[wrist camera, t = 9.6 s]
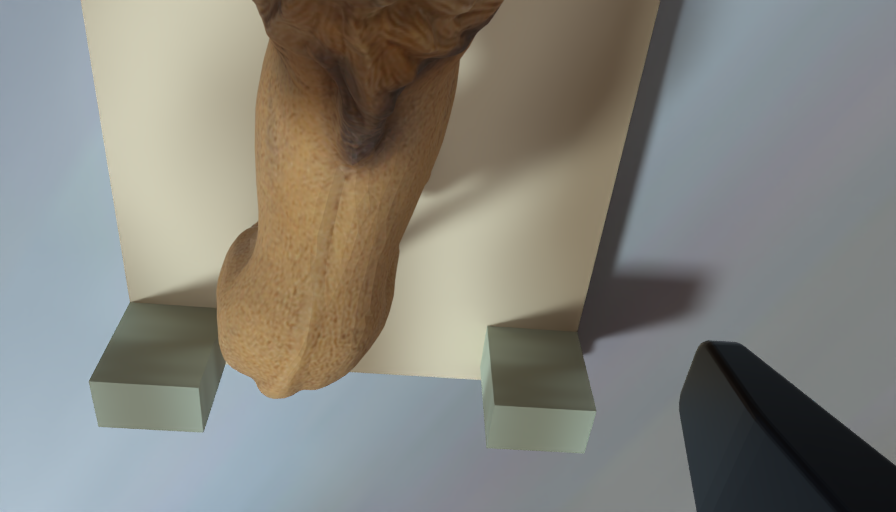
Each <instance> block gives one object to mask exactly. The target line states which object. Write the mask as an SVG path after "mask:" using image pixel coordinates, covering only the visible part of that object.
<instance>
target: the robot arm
mask: <svg viewBox="0 0 896 512" xmlns="http://www.w3.org/2000/svg"><path fill="white" fill-rule="evenodd" d="M679 412H680V419H681V424H682V430H683V436H684V441H685V447H686V453H687V459H688V464H689V470H690V476H691V482H692V487H693V493H694V499H695V504H696V510H697V512H896V466H895V465H894V464H893V463H892V462H890V461H889V460H888V459H887V458H885V457H884V456H883V455H882V454H880V453H879V452H878V451H876V450H875V449H874V448H873V447H871V446H870V445H869V444H868V443H866V442H865V441H864V440H863V439H861V438H860V437H859V436H857V435H856V434H855V433H854V432H852V431H851V430H850V429H849V428H847V427H846V426H845V425H844V424H842V423H841V422H840V421H838V420H837V419H836V418H835V417H833V416H832V415H831V414H830V413H828V412H827V411H826V410H825V409H823V408H822V407H821V406H819V405H818V404H817V403H816V402H814V401H813V400H812V399H811V398H809V397H808V396H807V395H805V394H804V393H803V392H802V391H800V390H799V389H798V388H797V387H795V386H794V385H793V384H792V383H790V382H789V381H788V380H786V379H785V378H784V377H783V376H781V375H780V374H779V373H778V372H776V371H775V370H774V369H773V368H771V367H770V366H769V365H767V364H766V363H765V362H764V361H762V360H761V359H760V358H759V357H757V356H756V355H755V354H754V353H752V352H751V351H750V350H748V349H747V348H746V347H745V346H743V345H742V344H740V343H737V342H726V341H710V340H709V341H705V342H703V343H701V344H700V346H699V347H698V349H697V351H696V353H695V356H694V358H693V361H692V364H691V367H690V369H689V372H688V375H687V377H686V380H685V383H684V385H683V388H682V391H681V395H680V401H679Z"/></svg>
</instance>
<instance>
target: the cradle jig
mask: <svg viewBox="0 0 896 512" xmlns="http://www.w3.org/2000/svg"><path fill="white" fill-rule="evenodd" d="M81 4H82V11H83V17H84V23H85V29H86V35H87V41H88V47H89V53H90V60H91V66H92V72H93V78H94V84H95V90H96V96H97V103H98V109H99V115H100V121H101V127H102V133H103V139H104V145H105V152H106V158H107V164H108V170H109V176H110V182H111V188H112V195H113V201H114V207H115V213H116V219H117V225H118V231H119V237H120V244H121V250H122V256H123V262H124V268H125V274H126V280H127V286H128V293H129V299H130V303H129V305H128V307H127V309H126V311H125V313H124V315H123V317H122V319H121V321H120V323H119V324H118V326H117V328H116V330H115V332H114V334H113V336H112V338H111V340H110V342H109V344H108V346H107V347H106V349H105V351H104V353H103V355H102V357H101V359H100V361H99V363H98V365H97V367H96V369H95V370H94V372H93V374H92V376H91V378H90V380H89V385H90V389H91V394H92V399H93V403H94V408H95V413H96V417H97V422H98V426H99V427H112V428H130V429H149V430H167V431H185V432H204V429H205V426H206V423H207V420H208V417H209V413H210V410H211V407H212V404H213V401H214V398H215V395H216V392H217V389H218V385H219V382H220V379H221V376H222V373H223V370H224V367H225V364H228V363H227V362H226V361H225V360H224V358H223V356H222V353H221V349H220V345H219V339H218V326H217V296H216V290H217V283H218V278H219V274H220V270H221V268H222V265H223V262H224V259H225V256H226V254H227V252H228V250H229V248H230V246H231V245H232V243H233V242H234V241H235V239H236V238H237V237H238V235H239V234H241V233H242V232H243V231H245V230H246V229H248V228H250V227H251V226H252V225H253V224H255V223H256V222H257V221H258V200H257V186H256V167H255V107H256V98H257V91H258V86H259V81H260V75H261V70H262V65H263V60H264V56H265V53H266V49H267V45H268V42H269V37H268V36H267V34H266V31H265V28H264V24H263V21H262V18H261V17H260V15H259V12H258V10H257V7H256V4H255V3H254V2H253V1H252V0H81ZM659 4H660V0H504V1H503V3H502V4H501V6H500V7H499V9H498V11H497V12H496V14H495V15H494V16H493V18H492V19H491V21H490V22H489V23H488V24H487V25H486V26H485V27H483V28H482V29H481V30H480V31H479V32H478V33H477V34H476V35H475V37H474V39H473V41H472V43H471V45H470V47H469V48H468V49H467V51H466V52H465V53H464V55H463V56H462V58H461V59H460V66H459V73H458V81H457V88H456V93H455V98H454V102H453V107H452V111H451V115H450V119H449V122H448V126H447V129H446V133H445V137H444V140H443V143H442V146H441V149H440V151H439V154H438V157H437V159H436V161H435V164H434V166H433V169H432V171H431V176H430V178H429V181H428V182H427V184H426V185H425V186H424V189H423V191H422V193H421V196H420V198H419V201H418V203H417V205H416V208H415V210H414V212H413V215H412V217H411V219H410V221H409V224H408V226H407V228H406V230H405V233H404V235H403V237H402V239H401V242H400V244H399V251H400V253H399V259H398V265H397V272H396V279H395V290H394V297H393V301H392V305H391V309H390V312H389V315H388V318H387V321H386V323H385V326H384V328H383V330H382V331H381V333H380V335H379V336H378V338H377V339H376V341H375V342H374V344H373V345H372V346H371V348H370V349H369V350H368V352H367V353H366V354H365V355H364V357H363V358H362V359H361V360H360V361H359V363H358V364H357V365H356V366H355V367H354V368H353V369H352V370H351V371H350V372H360V373H376V374H393V375H409V376H425V377H442V378H458V379H474V380H481V383H482V396H483V409H484V421H485V434H486V447H487V448H495V449H513V450H532V451H550V452H568V453H584V452H585V449H586V446H587V442H588V439H589V435H590V432H591V428H592V425H593V421H594V418H595V415H596V407H595V403H594V399H593V395H592V391H591V387H590V383H589V379H588V374H587V370H586V366H585V362H584V358H583V354H582V350H581V346H580V341H579V337H578V333H577V331H578V327H579V323H580V319H581V315H582V311H583V307H584V303H585V299H586V295H587V291H588V287H589V283H590V279H591V275H592V271H593V267H594V263H595V259H596V255H597V251H598V247H599V243H600V239H601V235H602V231H603V227H604V223H605V219H606V215H607V211H608V207H609V203H610V199H611V195H612V191H613V187H614V183H615V179H616V175H617V171H618V167H619V163H620V159H621V155H622V151H623V147H624V143H625V139H626V135H627V131H628V127H629V123H630V119H631V115H632V111H633V108H634V104H635V100H636V96H637V92H638V88H639V84H640V80H641V76H642V72H643V68H644V64H645V60H646V56H647V52H648V48H649V44H650V40H651V36H652V32H653V28H654V24H655V20H656V16H657V12H658V8H659Z"/></svg>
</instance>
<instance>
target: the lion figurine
mask: <svg viewBox="0 0 896 512" xmlns="http://www.w3.org/2000/svg"><path fill="white" fill-rule="evenodd" d="M252 1H253V2H254V3H255V4H256V7H257V10H258V12H259V15H260V17H261V18H262V21H263V24H264V28H265V31H266V34H267V36H268V37H269V42H268V45H267V49H266V53H265V56H264V60H263V65H262V70H261V75H260V81H259V86H258V91H257V98H256V107H255V167H256V186H257V200H258V221H257V222H256V223H255V224H253V225H252V226H251V227H250V228H248V229H246V230H245V231H243V232H242V233H241V234H239V235H238V237H237V238H236V239H235V241H234V242H233V243H232V245H231V246H230V248H229V250H228V252H227V254H226V256H225V259H224V262H223V265H222V268H221V270H220V274H219V278H218V283H217V290H216V296H217V326H218V339H219V345H220V349H221V353H222V356H223V358H224V360H225V361H226V362H227V363H228V364H229V365H230V366H231V367H232V368H233V369H235V370H237V371H238V372H240V373H242V374H244V375H247V376H249V377H251V378H252V379H253V380H255V382H256V384H257V387H258V388H259V390H260V391H261V393H263V394H264V395H265V396H267V397H269V398H273V399H278V398H286V397H289V396H292V395H293V394H295V393H297V392H298V391H301V390H316V389H320V388H323V387H325V386H327V385H329V384H331V383H333V382H335V381H337V380H338V379H340V378H342V377H343V376H345V375H346V374H347V373H349V372H350V371H351V370H352V369H353V368H354V367H355V366H356V365H357V364H358V363H359V361H360V360H361V359H362V358H363V357H364V355H365V354H366V353H367V352H368V350H369V349H370V348H371V346H372V345H373V344H374V342H375V341H376V339H377V338H378V336H379V335H380V333H381V331H382V330H383V328H384V326H385V323H386V321H387V318H388V315H389V312H390V309H391V305H392V301H393V297H394V290H395V279H396V272H397V265H398V259H399V253H400V251H399V244H400V242H401V239H402V237H403V235H404V233H405V230H406V228H407V226H408V224H409V221H410V219H411V217H412V215H413V212H414V210H415V208H416V205H417V203H418V201H419V198H420V196H421V193H422V191H423V189H424V186H425V185H426V184H427V182H428V181H429V178H430V176H431V171H432V169H433V166H434V164H435V161H436V159H437V157H438V154H439V151H440V149H441V146H442V143H443V140H444V137H445V133H446V129H447V126H448V122H449V119H450V115H451V111H452V107H453V102H454V98H455V93H456V88H457V81H458V73H459V66H460V59H461V58H462V56H463V55H464V53H465V52H466V51H467V49H468V48H469V47H470V45H471V43H472V41H473V39H474V37H475V35H476V34H477V33H478V32H479V31H480V30H481V29H482V28H483V27H485V26H486V25H487V24H488V23H489V22H490V21H491V19H492V18H493V16H494V15H495V14H496V12H497V11H498V9H499V7H500V6H501V4H502V3H503V1H504V0H252Z"/></svg>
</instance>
